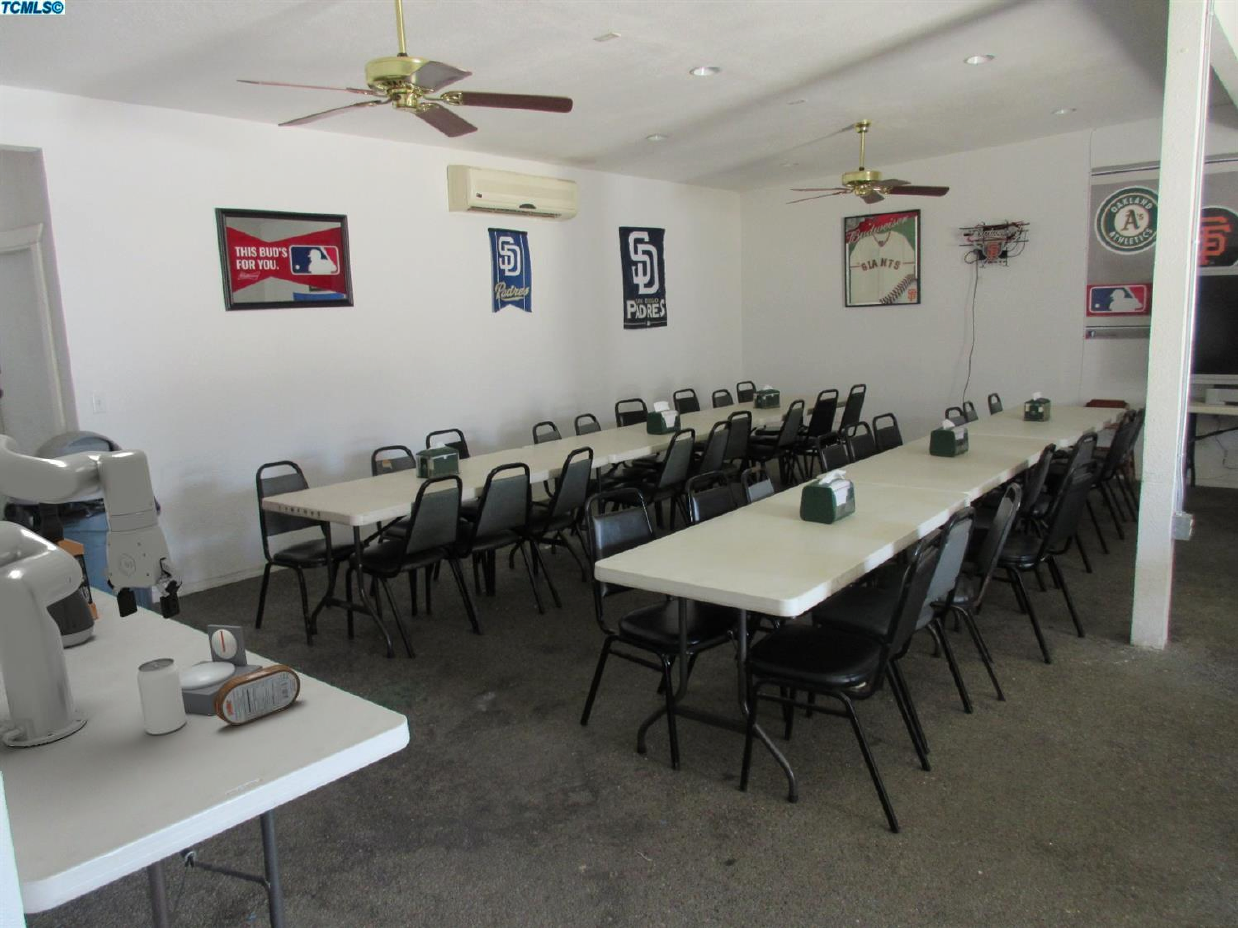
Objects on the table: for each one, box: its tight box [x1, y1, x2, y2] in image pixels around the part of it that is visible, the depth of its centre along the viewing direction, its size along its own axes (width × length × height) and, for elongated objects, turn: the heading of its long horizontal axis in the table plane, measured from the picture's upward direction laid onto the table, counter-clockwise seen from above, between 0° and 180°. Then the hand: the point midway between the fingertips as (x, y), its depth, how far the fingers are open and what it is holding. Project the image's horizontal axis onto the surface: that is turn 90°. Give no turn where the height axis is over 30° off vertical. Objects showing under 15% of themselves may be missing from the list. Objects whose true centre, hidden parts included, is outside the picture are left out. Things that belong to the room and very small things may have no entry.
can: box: [136, 657, 187, 736], centre depth 153 cm, size 6×6×12 cm
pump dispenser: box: [46, 588, 96, 648], centre depth 202 cm, size 10×10×15 cm
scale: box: [178, 624, 263, 716], centre depth 166 cm, size 14×15×12 cm
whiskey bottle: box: [38, 502, 99, 620], centre depth 216 cm, size 10×10×32 cm
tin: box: [213, 663, 301, 726], centre depth 156 cm, size 15×3×8 cm, turn 135°
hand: (150, 615), depth 152 cm, fingers open, 9 cm apart
